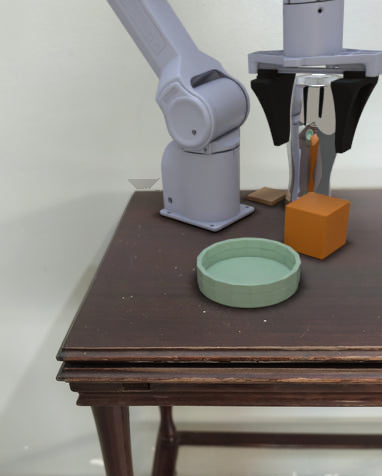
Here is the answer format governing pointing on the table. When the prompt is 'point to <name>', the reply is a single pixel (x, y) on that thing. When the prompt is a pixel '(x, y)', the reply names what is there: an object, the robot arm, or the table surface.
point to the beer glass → (311, 136)
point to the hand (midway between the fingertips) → (311, 147)
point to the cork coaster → (267, 196)
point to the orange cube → (316, 224)
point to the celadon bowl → (248, 272)
